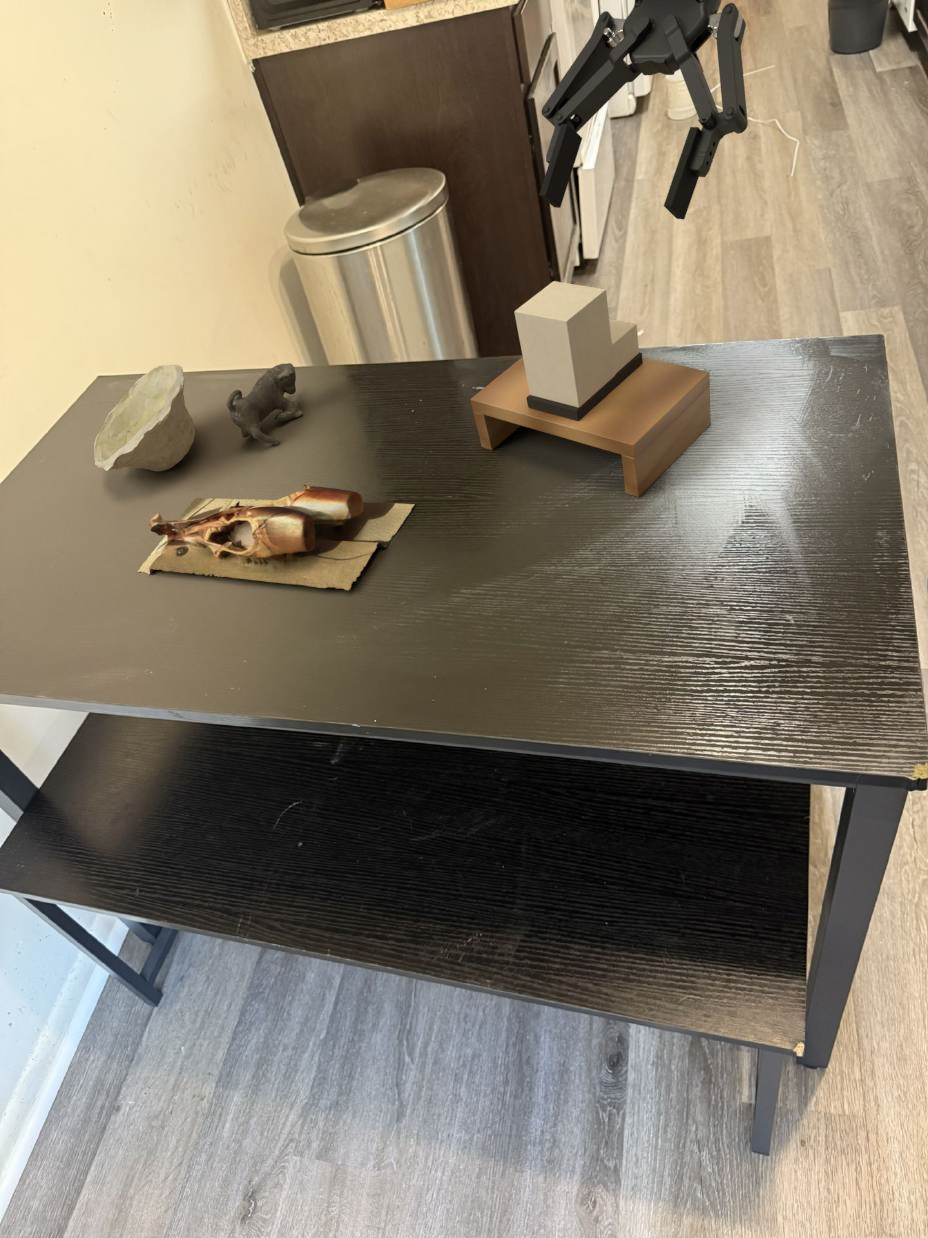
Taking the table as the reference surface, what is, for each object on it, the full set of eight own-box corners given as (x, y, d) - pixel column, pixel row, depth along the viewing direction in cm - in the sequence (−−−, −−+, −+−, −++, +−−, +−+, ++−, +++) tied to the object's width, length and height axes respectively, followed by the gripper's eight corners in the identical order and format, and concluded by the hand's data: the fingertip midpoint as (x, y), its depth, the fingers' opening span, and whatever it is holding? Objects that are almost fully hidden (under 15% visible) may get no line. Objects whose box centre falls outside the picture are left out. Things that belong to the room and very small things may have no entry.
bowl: (112, 448, 112) (71, 380, 105) (215, 414, 112) (181, 343, 105) (105, 513, 101) (59, 441, 94) (220, 475, 101) (182, 401, 94)
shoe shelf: (711, 424, 87) (709, 371, 83) (638, 497, 82) (633, 444, 78) (554, 385, 99) (546, 337, 95) (481, 447, 93) (469, 399, 89)
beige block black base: (578, 421, 82) (564, 324, 75) (527, 407, 86) (509, 313, 79) (643, 363, 87) (635, 266, 80) (592, 352, 90) (580, 258, 84)
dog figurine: (269, 454, 102) (244, 400, 97) (232, 449, 105) (207, 396, 100) (324, 398, 109) (303, 344, 104) (289, 394, 111) (267, 342, 106)
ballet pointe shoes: (347, 547, 76) (97, 537, 86) (369, 599, 81) (130, 584, 91) (398, 450, 84) (165, 451, 94) (416, 502, 89) (192, 498, 99)
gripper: (844, -29, 71) (749, 235, 75) (593, -8, 85) (525, 213, 89) (818, -93, 65) (716, 198, 69) (553, -58, 79) (482, 180, 83)
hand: (608, 207), depth 79 cm, fingers open, 13 cm apart
